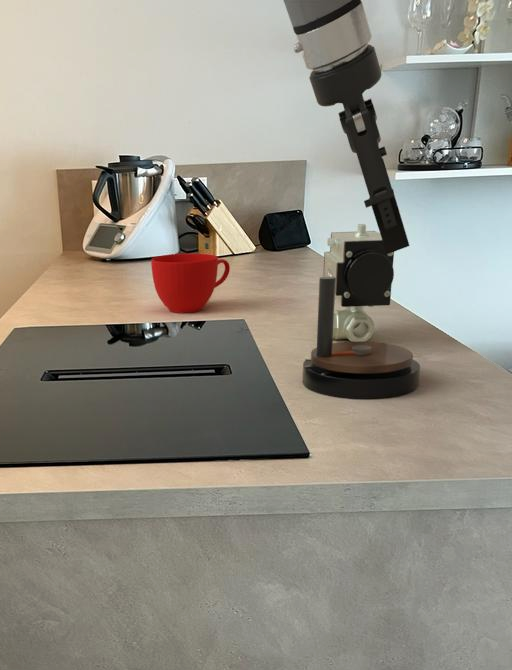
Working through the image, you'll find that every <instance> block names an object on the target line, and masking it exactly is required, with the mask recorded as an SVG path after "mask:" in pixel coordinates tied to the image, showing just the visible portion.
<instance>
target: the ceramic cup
mask: <svg viewBox="0 0 512 670" xmlns="http://www.w3.org/2000/svg"><path fill="white" fill-rule="evenodd" d="M150 263H151V275H152V281H153V285H154V289H155V293H156V294H157V296H158V298H159V300H160V302H161V303H162V304H163V305H164V306H165V307H166V308H167V309H168V311H169V312H172V313H178V314H184V313H185V314H186V313H187V314H188V313H189V314H190V313H196V312H200V311H202V310H203V308H204V307H205V306H206V304H207V303H208V301H209V300H210V299H211V297H212V295H213V293H214V290H215V288H217V287H219V286H220V285H222V284H223V283H224V282H225V281H227V279H228V276H229V274H230V270H231V266H230V263H229V262H228V261H227V260H226V259H225V258H219V256H218V255H215V254H209V253H174V254H164V255H158V256H154V257H152V258H151V261H150ZM220 264H223V265H224V270H223V273H222V275H221V277H220V278H219V279H218V266H219V265H220ZM217 279H218V280H217Z"/></svg>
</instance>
